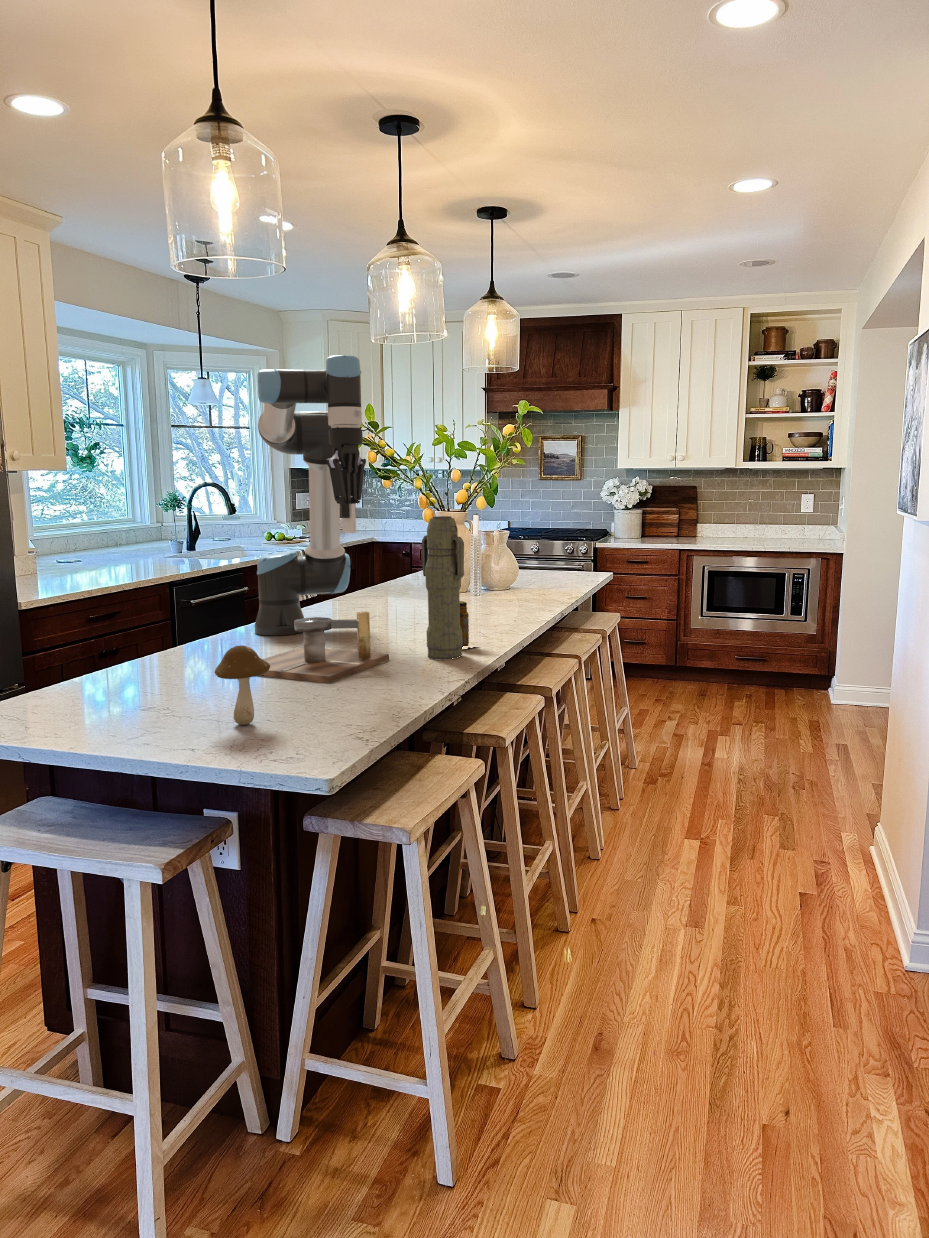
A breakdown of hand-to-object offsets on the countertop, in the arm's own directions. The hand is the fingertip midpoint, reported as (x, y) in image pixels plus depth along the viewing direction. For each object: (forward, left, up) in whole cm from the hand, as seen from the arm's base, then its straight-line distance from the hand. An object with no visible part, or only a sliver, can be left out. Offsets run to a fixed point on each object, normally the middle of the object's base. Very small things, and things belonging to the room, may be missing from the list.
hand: (349, 532), depth 203 cm
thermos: (+12, +23, -33) cm, 42 cm away
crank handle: (-8, +3, -31) cm, 32 cm away
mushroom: (+5, -45, -33) cm, 56 cm away
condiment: (+10, +35, -33) cm, 49 cm away
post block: (-12, +1, -33) cm, 35 cm away
